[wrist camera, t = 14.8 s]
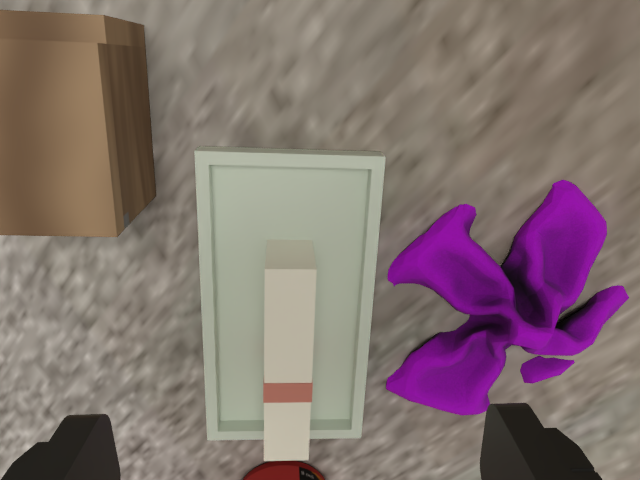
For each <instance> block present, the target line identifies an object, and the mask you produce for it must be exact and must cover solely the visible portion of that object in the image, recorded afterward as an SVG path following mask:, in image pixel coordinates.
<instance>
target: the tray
mask: <svg viewBox="0 0 640 480" xmlns="http://www.w3.org/2000/svg"><path fill="white" fill-rule="evenodd" d="M194 152H195V174H196V197H197V220H198V242H199V265H200V288H201V311H202V333H203V356H204V379H205V401H206V424H207V440H264V403H263V381H264V300H265V259H266V249H267V239H277V240H312V243H313V249H314V255H315V262H316V268H317V275H316V298H315V321H314V345H313V368H312V381H313V389H312V402H311V415H310V438H309V439H336V438H361V433H362V422H363V410H364V399H365V388H366V376H367V365H368V353H369V342H370V331H371V319H372V308H373V296H374V285H375V273H376V262H377V251H378V239H379V228H380V216H381V205H382V194H383V182H384V171H385V159H386V156H384V155H383V154H382V153H381V152H377V151H345V150H312V149H280V148H247V147H215V146H199V147H198V148H197V149H196V150H195V151H194Z"/></svg>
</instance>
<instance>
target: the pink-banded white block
mask: <svg viewBox="0 0 640 480" xmlns="http://www.w3.org/2000/svg"><path fill="white" fill-rule="evenodd" d="M316 275H317V268H316V262H315V255H314V249H313V243H312V240H277V239H267V249H266V259H265V300H264V381H263V403H264V461H294V460H309V438H310V415H311V402H312V389H313V381H312V368H313V345H314V321H315V298H316Z"/></svg>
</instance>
